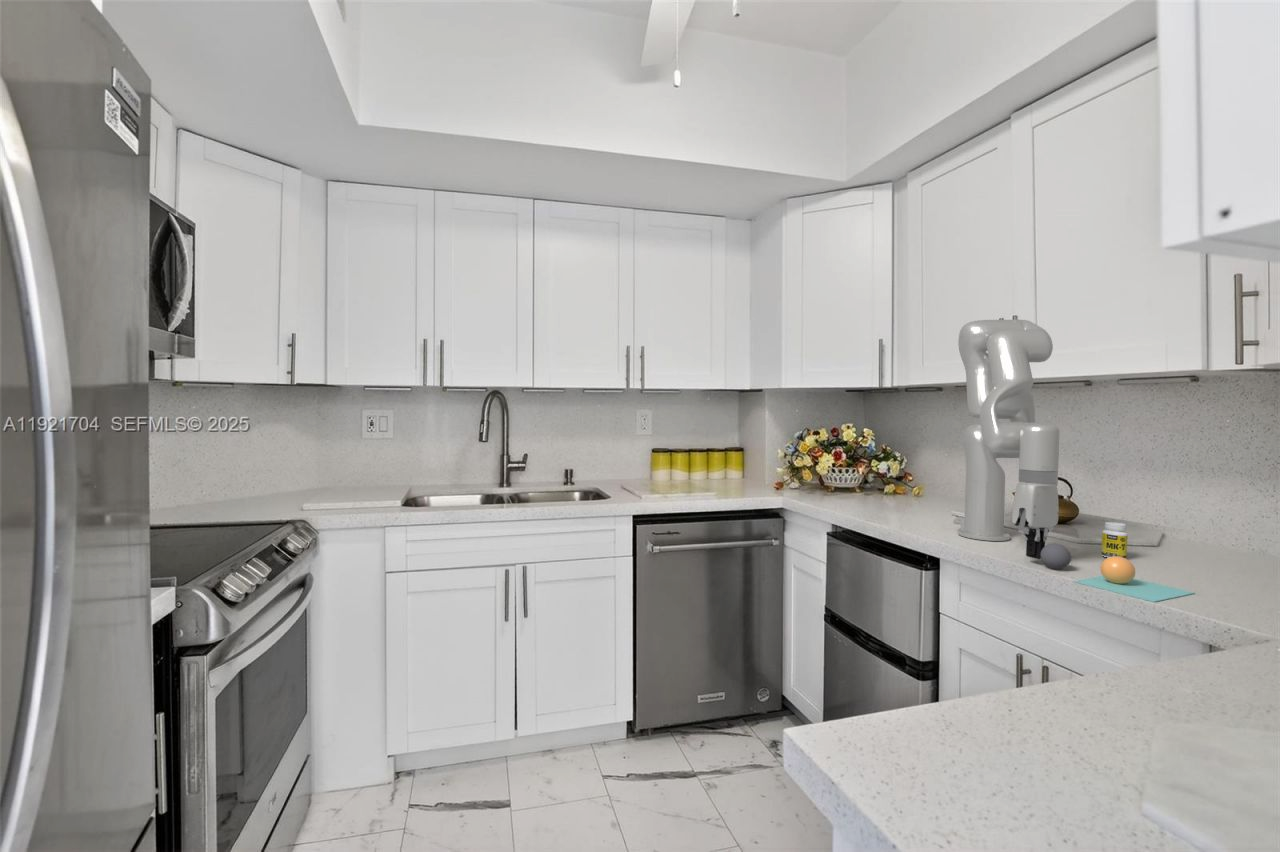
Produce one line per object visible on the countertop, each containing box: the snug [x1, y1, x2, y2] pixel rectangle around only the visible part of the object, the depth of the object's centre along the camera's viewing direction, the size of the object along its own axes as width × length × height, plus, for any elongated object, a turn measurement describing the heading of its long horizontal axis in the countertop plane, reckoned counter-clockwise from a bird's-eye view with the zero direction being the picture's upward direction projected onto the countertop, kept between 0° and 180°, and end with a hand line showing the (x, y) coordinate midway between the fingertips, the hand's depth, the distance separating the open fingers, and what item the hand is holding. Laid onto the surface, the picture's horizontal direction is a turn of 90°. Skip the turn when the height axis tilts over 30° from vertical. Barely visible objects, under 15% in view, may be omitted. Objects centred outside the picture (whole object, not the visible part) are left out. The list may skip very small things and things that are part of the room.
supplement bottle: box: [1100, 521, 1129, 559], centre depth 145 cm, size 5×5×8 cm
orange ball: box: [1100, 556, 1136, 584], centre depth 123 cm, size 6×6×6 cm
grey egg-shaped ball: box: [1040, 543, 1072, 570], centre depth 134 cm, size 6×6×6 cm
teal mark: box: [1073, 575, 1196, 603], centre depth 120 cm, size 14×14×1 cm
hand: (1035, 557), depth 138 cm, fingers closed
